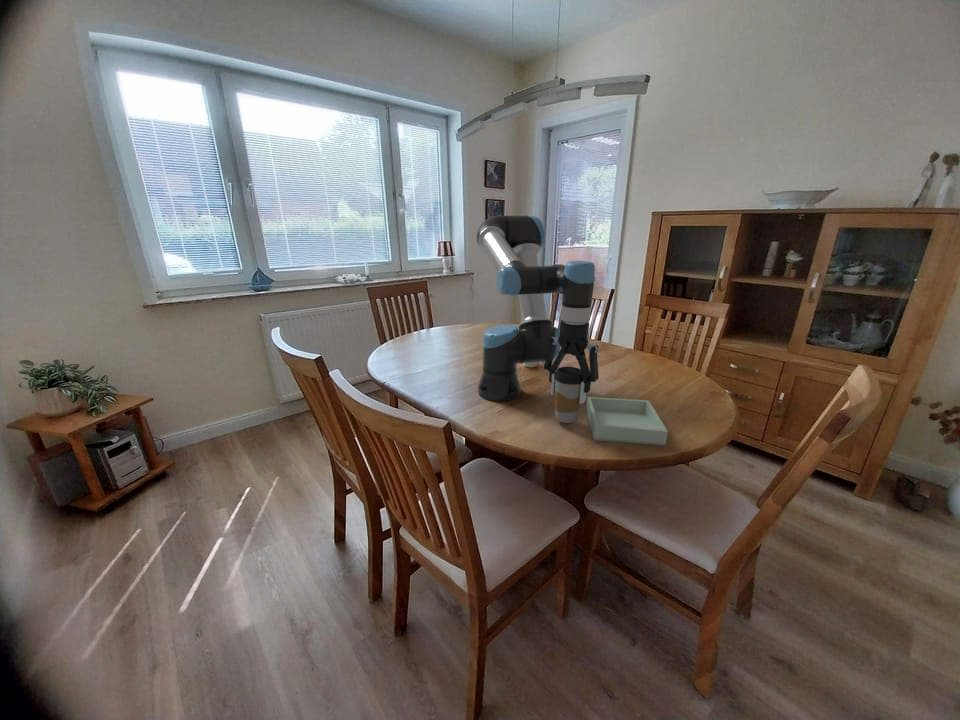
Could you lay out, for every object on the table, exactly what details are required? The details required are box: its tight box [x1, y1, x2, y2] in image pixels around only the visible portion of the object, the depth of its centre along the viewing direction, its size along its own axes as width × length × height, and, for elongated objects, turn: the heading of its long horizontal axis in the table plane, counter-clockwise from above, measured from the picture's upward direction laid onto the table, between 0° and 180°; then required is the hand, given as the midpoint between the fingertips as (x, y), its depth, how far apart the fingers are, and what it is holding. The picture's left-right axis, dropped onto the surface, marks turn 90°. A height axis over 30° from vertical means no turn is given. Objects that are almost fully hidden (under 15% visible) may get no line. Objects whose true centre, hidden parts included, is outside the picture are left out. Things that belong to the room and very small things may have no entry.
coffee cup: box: [554, 366, 584, 424], centre depth 104 cm, size 8×8×15 cm
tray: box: [585, 396, 669, 447], centre depth 105 cm, size 18×18×4 cm
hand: (567, 397), depth 104 cm, fingers closed on coffee cup, 8 cm apart
